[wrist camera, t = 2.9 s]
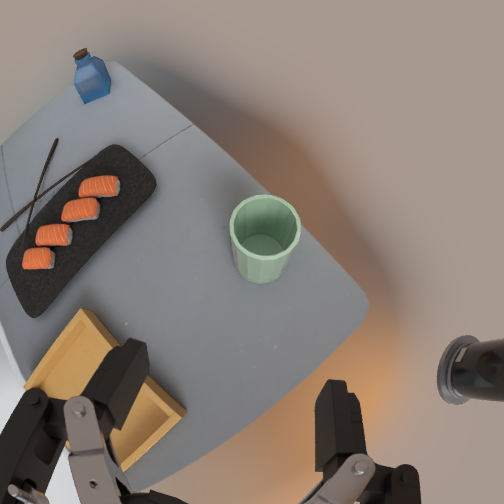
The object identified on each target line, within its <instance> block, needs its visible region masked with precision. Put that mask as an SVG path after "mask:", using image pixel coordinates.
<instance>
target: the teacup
mask: <svg viewBox="0 0 504 504" xmlns="http://www.w3.org/2000/svg"><path fill="white" fill-rule="evenodd" d="M229 225H230V238H231V244H232V251H233V258H234V264H235V266H236V268H237V270H238V272H239V273H240V275H241V276H242V277H243V278H245V279H246V280H248V281H250V282H253V283H258V284H264V283H269V282H272V281H274V280H275V279H277V278H278V277H279V276H280V275H281V274H282V273H283V271H284V270H285V268H286V266H287V264H288V262H289V260H290V258H291V256H292V254H293V252H294V250H295V248H296V246H297V243H298V241H299V237H300V234H301V224H300V218H299V216H298V214H297V213H296V211H295V209H294V208H293V207H292V205H290V204H289V203H288V202H286V201H285V200H284V199H282V198H279V197H276V196H273V195H269V194H267V195H255V196H252V197H250V198H248V199H245V200H244V201H242V202H241V203H240V204H239V205H238V206H237V207H236V208H235V209H234V211H233V214H232V216H231V219H230V222H229Z"/></svg>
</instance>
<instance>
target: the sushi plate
mask: <svg viewBox="0 0 504 504" xmlns="http://www.w3.org/2000/svg"><path fill="white" fill-rule="evenodd" d="M57 142H58V138H56V139H55V141H54V143H53V146H52V148H51V151H50V153H49V156H48V158H47V161H46V163H45V166H44V169H43V172H42V175H41V178H40V181H39V184H38V187H37V190H36V193H35V196H34V200H33V201H32V202H30V203H29V204H28V205H27V206H25V207H24V208H23V209H22V210H20V211H19V212H18V213H17V214H16V215H15V216H13V217H12V218H11V219H10V220H9V221H8V222H7V223H6V224H5V225H3V226H2V227H1V229H0V231H4V230H5V229H6V228H7V227H8V226H9V225H10V224H11V223H12V222H13V221H14V220H15V219H17V218H18V217H19V216H20V215H21V214H22V213H23V212H24V211H26V210H27V209H28V208H29V207H30V206H31V205H32V206H31V210H30V214H29V217H28V221H27V225H26V229H25V230H24V231H23V233H22V234H21V235H20V237H19V238H18V239H17V241H16V242H15V243H14V245H13V246H12V248H11V250H10V251H9V254H8V256H7V259H6V268H7V272H8V276H9V278H10V281H11V283H12V286H13V288H14V291H15V293H16V295H17V297H18V299H19V301H20V303H21V305H22V307H23V309H24V310H25V312H26V313H27V314H28V315H29V316H30V317H32V318H36V317H38V316H40V315H41V314H42V313H43V312H44V311H45V310H46V309H47V307H48V306H49V305H50V304H51V303H52V302H53V300H54V299H55V298H56V297H57V295H58V294H59V293H60V292H61V291H62V289H63V288H64V287H65V286H66V285H67V283H68V282H69V281H70V280H71V279H72V278H73V276H74V275H75V274H76V273H77V272H78V271H79V269H80V268H81V267H82V266H83V265H84V264H85V263H86V262H87V261H88V259H89V258H90V257H91V256H92V255H93V254H94V253H95V252H96V251H97V250H98V249H99V248H100V246H101V245H102V244H103V243H104V242H105V241H106V240H107V239H108V238H109V237H110V236H111V235H112V234H113V233H114V232H115V231H116V230H117V229H118V228H119V227H120V226H121V225H122V224H123V223H124V222H125V221H126V220H127V219H128V218H129V217H130V216H131V215H132V214H133V213H134V212H135V211H136V210H137V209H138V208H139V207H140V206H141V205H142V204H143V203H144V202H145V201H146V200H147V199H148V198H149V197H150V196H151V194H152V193H153V191H154V190H155V187H156V180H155V178H154V176H153V174H152V173H151V172H150V171H149V170H148V169H147V168H146V167H145V166H144V165H143V164H142V163H141V162H140V161H139V160H138V159H137V158H136V157H134V156H133V155H132V154H131V153H130V152H129V151H127V150H126V149H125V148H123V147H122V146H120V145H110V146H108V147H106V148H105V149H103V150H102V151H101V152H99V153H98V154H97V155H96V156H94V157H93V158H92V159H90V160H89V161H87V162H86V163H84V164H82V165H81V166H79V167H78V168H76V169H75V170H73V171H72V172H71V173H69V174H68V175H66V176H65V177H63V178H62V179H61V180H59V181H58V182H57V183H55V184H54V185H52V186H51V187H50V188H48V189H47V190H46V191H44V192H43V193H42V194H41V195H39V196H38V197H37V194H38V191H39V188H40V185H41V182H42V179H43V177H44V174H45V172H46V169H47V166H48V164H49V161H50V159H51V157H52V154H53V152H54V149H55V147H56V145H57ZM80 168H81V169H80ZM79 169H80V170H79ZM77 170H79V171H78V172H77V173H76V174H75V175H74V176H73V177H72V178H71V179H70V180H69V181H68V182H67V183H66V184H65V185H64V186H63V187H62V188H61V189H60V190H59V191H58V192H57V193H56V194H55V195H54V196H53V198H52V199H51V200H50V201H49V202H48V203H47V204H46V205H45V206H44V207H43V209H42V210H41V211H40V212H39V213H38V214H37V216H36V217H35V218H34V219H33V220H32V222H31V223H30V224H29V221H30V218H31V214H32V210H33V207H34V203H35V202H36V201H37V200H38V199H40V198H41V197H42V196H43V195H45V194H46V193H47V192H48V191H50V190H51V189H52V188H54V187H55V186H56V185H58V184H59V183H60V182H62V181H63V180H64V179H66V178H67V177H69V176H70V175H71V174H73V173H74V172H76V171H77ZM36 197H37V198H36Z"/></svg>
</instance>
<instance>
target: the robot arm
mask: <svg viewBox="0 0 504 504" xmlns="http://www.w3.org/2000/svg"><path fill="white" fill-rule="evenodd" d="M148 371H149V358H148V352H147V345H146V343H145V342H142V341H139V340H136V339H132V338H129V339H128V340H127V341H126V343H125V344H124V346H123V347H120V346H116V347H114V348H113V349H111V350H110V351H108V353H107V354H106V356H105V357H104V359H103V361H102V362H101V363H100V365H99V366H98V369H96V371H95V373H94V374H93V376H92V377H91V379H90V380H89V382H88V384H87V385H86V387H85V388H84V390H83V392H82V393H81V394H80V395H79V396H74V397H71V398H70V399H68V400H63V399H58V398H52V397H48V396H47V394H46V393H45V391H43V390H42V389H40V388H30V389H28V390H27V391H26V392H25V393H24V394H23V396H22V398H21V399H20V401H19V403H18V405H17V406H16V408H15V409H14V411H13V413H12V414H11V416H10V418H9V420H8V422H7V423H6V425H5V427H4V429H3V431H2V433H1V434H0V504H49V501H48V499H47V497H46V496H45V492H46V489H47V487H48V484H49V482H50V479H51V477H52V474H53V472H54V469H55V467H56V464H57V462H58V459H59V457H60V455H61V453H62V450H63V448H64V446H65V443H66V441H69V445H70V449H71V454H69V456H68V460H69V465H70V469H71V473H72V476H73V480H74V484H75V487H76V490H77V493H78V497H79V500H80V502H81V504H187V503H186V502H183V501H182V500H180V499H178V498H176V497H172V496H169V495H165V494H162V493H159V492H156V491H153V490H150V492H149V493H133V492H132V490H131V487H130V485H129V482H128V480H127V478H126V476H125V474H124V473H123V471H122V468H121V466H120V463H119V460H118V457H117V454H116V451H115V448H114V445H113V442H112V439H111V435H110V434H111V432H112V430H113V428H115V429H117V430H120V431H121V429H122V427H123V425H124V423H125V421H126V419H127V416H128V414H129V412H130V410H131V408H132V406H133V404H134V402H135V400H136V398H137V396H138V393H139V391H140V389H141V387H142V385H143V383H144V381H145V379H146V377H147V375H148ZM446 379H447V386H448V389H449V391H450V393H451V394H452V395H453V396H455V397H458V398H471V399H480V400H490V401H501V402H504V339H497V340H490V341H483V342H475V343H473V342H470V343H464V344H462V345H460V346H459V347H458V348H457V349H456V350H455V352H454V353H453V355H452V357H451V359H450V361H449V364H448V368H447V376H446ZM315 472H323V478H322V479H321V481H320V482H319V483H318V484H317V485H316V486H315V487H314V488H313V489H312V491H310V493H309V494H308V495H307V496H306V497H305V498H304V499H303V500H302V501H301V502H300V503H299V504H353V503H354V502H355V501H357V502H360V504H421V494H420V482H419V475H418V472H417V470H416V469H415V468H414V467H413V466H411V465H408V464H403V465H400V466H398V467H397V468H391V467H386V466H382V465H378V464H376V463H375V462H374V461H373V460H372V459H371V458H370V457H369V456H368V454H367V451H366V443H365V435H364V428H363V423H362V414H361V408H360V402H359V400H358V399H357V397H356V395H355V394H354V393H348V391H347V385H346V382H345V381H343V380H330V379H329V380H327V382H326V383H325V385H324V387H323V389H322V390H321V392H320V394H319V396H318V398H317V400H316V404H315Z"/></svg>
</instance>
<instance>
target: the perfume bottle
mask: <svg viewBox="0 0 504 504" xmlns="http://www.w3.org/2000/svg"><path fill="white" fill-rule="evenodd" d="M73 57H74V58H75V62H76V64H77V65H78V66H77V69H76V71H75V82H74V85H75V87H76V89H77V91H78V93H79V95H80V97H81V99H82V100H83V102H84V104H86V103H88V102H90V101H92V100H95V99H97V98H100V97H102V96H104V95H107V94H109V91H110V82H111V79H110V76H109V74H108V72H107V69H106V67H105V64H104V62H103V60H101V59H99V58H97V57H95V56H94V57H91V56H90V53H89V52H87V48H84V49H81V50H79V51H78V52H76V53H75V54H74V55H73ZM90 57H91V58H90Z"/></svg>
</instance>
